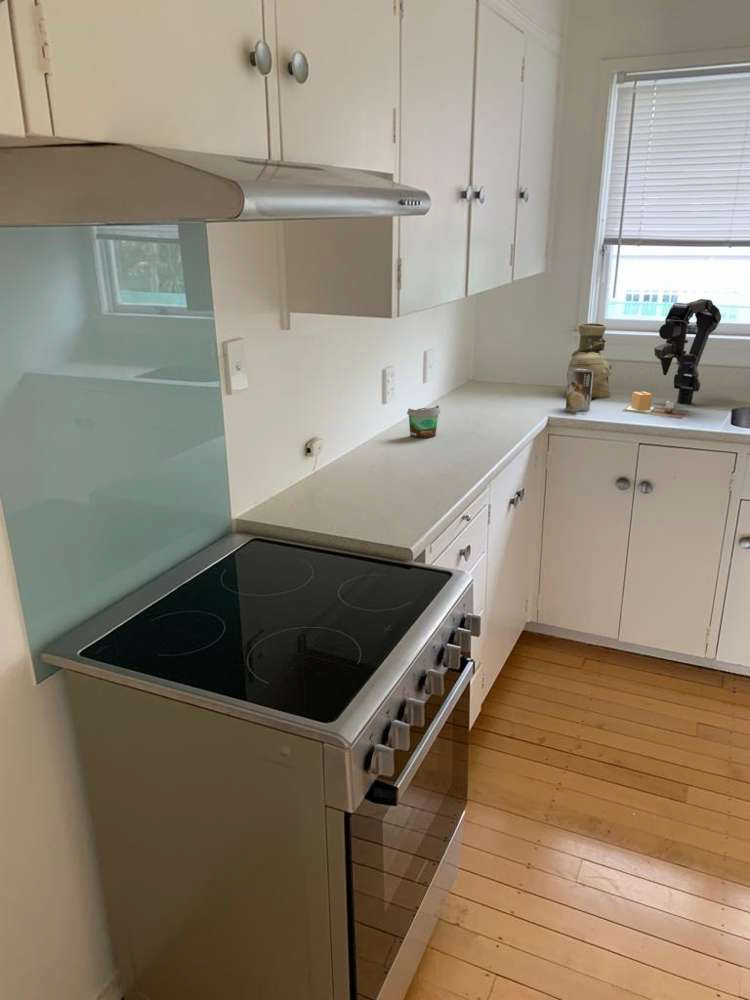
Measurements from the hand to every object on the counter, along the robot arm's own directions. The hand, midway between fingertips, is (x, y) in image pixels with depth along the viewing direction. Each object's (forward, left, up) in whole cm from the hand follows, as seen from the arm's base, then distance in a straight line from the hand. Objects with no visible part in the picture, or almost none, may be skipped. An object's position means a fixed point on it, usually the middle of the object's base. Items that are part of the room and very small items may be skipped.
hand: (671, 377), depth 291 cm
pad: (+9, -8, -12) cm, 17 cm away
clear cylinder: (+9, +2, -12) cm, 15 cm away
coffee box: (+20, -30, -13) cm, 38 cm away
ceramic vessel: (-8, -34, -13) cm, 37 cm away
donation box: (+9, -8, -12) cm, 17 cm away
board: (+9, -3, -13) cm, 16 cm away
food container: (+86, -63, -13) cm, 107 cm away
